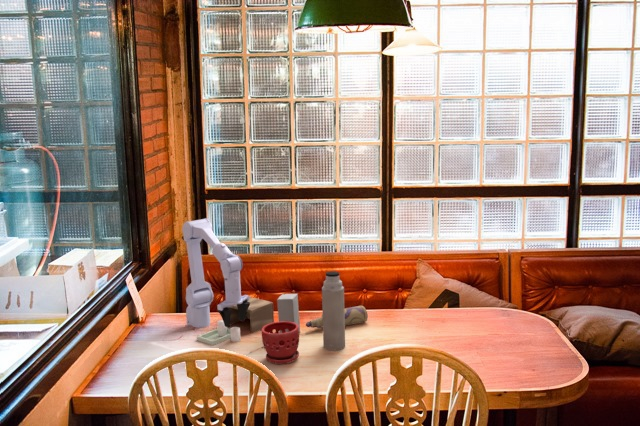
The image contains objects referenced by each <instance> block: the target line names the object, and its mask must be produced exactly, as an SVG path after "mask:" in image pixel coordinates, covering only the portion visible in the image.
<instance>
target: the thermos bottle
mask: <svg viewBox="0 0 640 426" xmlns="http://www.w3.org/2000/svg"><path fill="white" fill-rule="evenodd" d="M321 305H322V306H321V308H322V309H321V310H322V314H323V326H322V335H323V336H322V337H323V348H324V349H325V350H328V351H340V350H344V348H346V328H345V327H346V326H345V314H344V309H345V286H343V281H342V280H341V279H340V272H339V271H335V270H333V271H332V270H331V271H326V272H325V280H324V281H323V286H322V287H321Z"/></svg>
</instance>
